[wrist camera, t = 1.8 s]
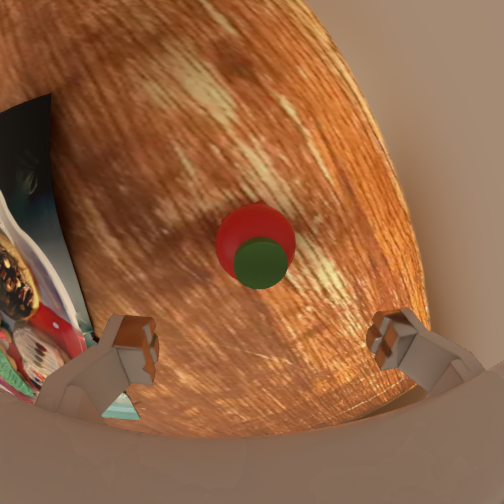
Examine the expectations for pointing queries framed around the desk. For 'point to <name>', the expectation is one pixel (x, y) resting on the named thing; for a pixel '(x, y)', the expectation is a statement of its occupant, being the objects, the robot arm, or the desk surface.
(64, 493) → the robot arm
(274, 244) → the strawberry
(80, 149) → the desk surface
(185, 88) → the desk surface
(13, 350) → the cookie photo sheet
